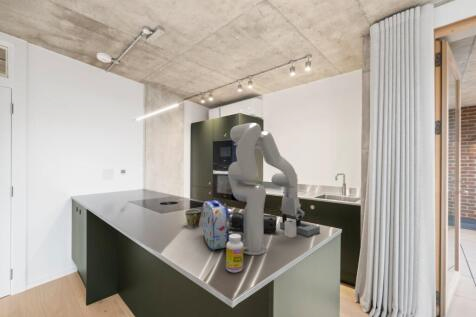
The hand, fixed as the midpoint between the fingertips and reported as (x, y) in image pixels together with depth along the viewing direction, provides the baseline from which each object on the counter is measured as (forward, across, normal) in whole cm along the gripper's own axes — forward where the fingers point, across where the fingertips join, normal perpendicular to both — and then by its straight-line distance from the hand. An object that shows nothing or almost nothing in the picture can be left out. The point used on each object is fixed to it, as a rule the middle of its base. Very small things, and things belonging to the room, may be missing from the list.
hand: (291, 224), depth 123 cm
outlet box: (+7, -2, +10) cm, 12 cm away
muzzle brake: (+6, -19, -13) cm, 24 cm away
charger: (+6, 0, -1) cm, 6 cm away
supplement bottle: (+5, +11, -49) cm, 50 cm away
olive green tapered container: (+5, -47, -38) cm, 61 cm away
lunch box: (+5, -16, -41) cm, 44 cm away
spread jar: (+6, -34, -23) cm, 41 cm away
